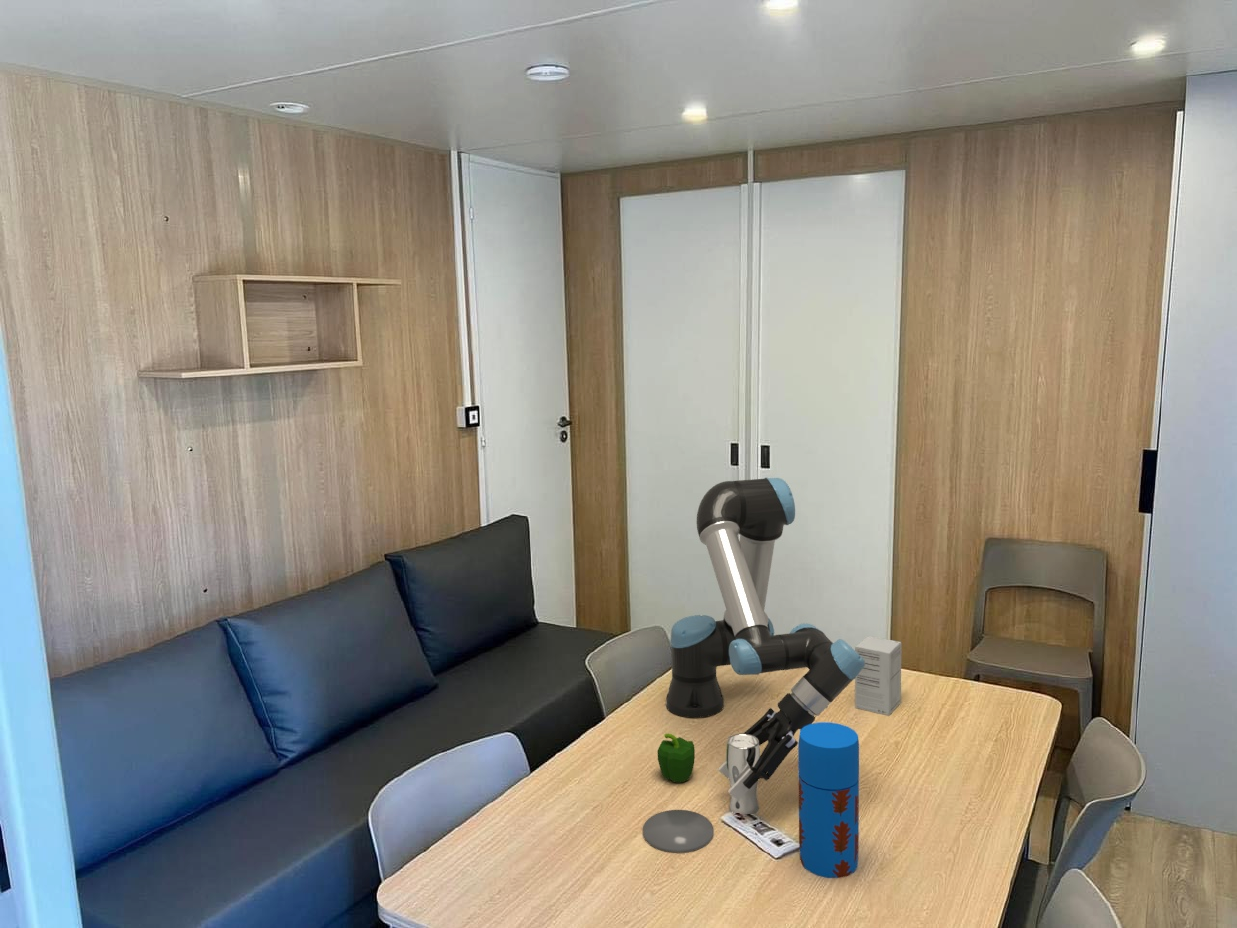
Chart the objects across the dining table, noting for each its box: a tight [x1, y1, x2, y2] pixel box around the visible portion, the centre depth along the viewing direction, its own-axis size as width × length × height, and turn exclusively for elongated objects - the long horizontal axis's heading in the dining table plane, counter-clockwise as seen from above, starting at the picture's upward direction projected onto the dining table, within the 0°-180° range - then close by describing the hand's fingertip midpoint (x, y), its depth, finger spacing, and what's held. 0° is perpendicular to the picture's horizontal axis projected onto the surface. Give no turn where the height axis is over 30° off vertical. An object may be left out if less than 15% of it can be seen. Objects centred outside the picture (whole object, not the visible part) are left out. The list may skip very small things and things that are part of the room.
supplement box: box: [854, 635, 902, 717], centre depth 230 cm, size 10×9×17 cm
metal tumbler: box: [725, 733, 761, 815], centre depth 184 cm, size 7×7×15 cm
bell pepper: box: [657, 733, 696, 783], centre depth 198 cm, size 8×8×10 cm
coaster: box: [642, 809, 714, 854], centre depth 177 cm, size 14×14×1 cm
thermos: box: [797, 721, 860, 879], centre depth 164 cm, size 11×11×25 cm
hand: (728, 784), depth 184 cm, fingers open, 8 cm apart
